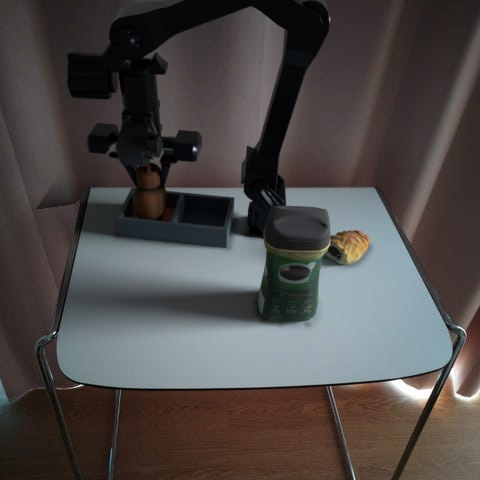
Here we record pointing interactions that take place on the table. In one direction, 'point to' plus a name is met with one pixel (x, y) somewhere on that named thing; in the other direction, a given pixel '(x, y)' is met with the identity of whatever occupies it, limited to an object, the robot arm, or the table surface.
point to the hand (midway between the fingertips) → (150, 185)
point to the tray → (182, 220)
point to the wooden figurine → (149, 193)
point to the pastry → (347, 246)
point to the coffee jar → (293, 262)
